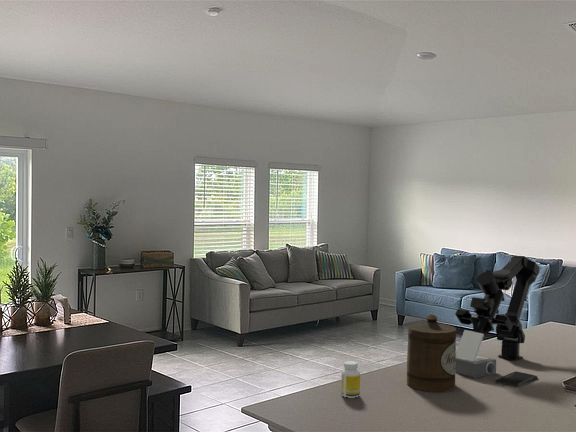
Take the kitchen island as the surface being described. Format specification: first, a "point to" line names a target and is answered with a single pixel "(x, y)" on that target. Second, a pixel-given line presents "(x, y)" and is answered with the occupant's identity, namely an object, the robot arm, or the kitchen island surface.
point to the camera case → (476, 367)
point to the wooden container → (431, 356)
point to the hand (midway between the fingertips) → (474, 339)
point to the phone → (516, 379)
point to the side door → (469, 346)
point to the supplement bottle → (350, 380)
